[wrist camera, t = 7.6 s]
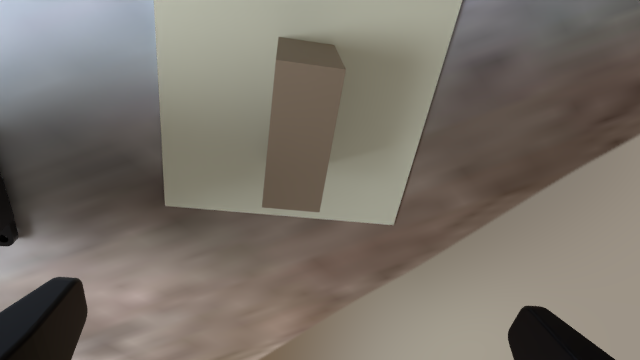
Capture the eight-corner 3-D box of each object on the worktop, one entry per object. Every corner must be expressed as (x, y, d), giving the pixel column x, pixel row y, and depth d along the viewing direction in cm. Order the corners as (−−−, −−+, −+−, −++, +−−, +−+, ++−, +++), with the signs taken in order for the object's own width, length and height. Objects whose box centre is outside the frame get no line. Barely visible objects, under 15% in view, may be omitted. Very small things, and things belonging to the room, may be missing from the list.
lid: (169, 197, 21) (139, 258, 17) (156, -74, 15) (105, -83, 11) (390, 216, 23) (412, 276, 19) (460, -20, 17) (517, -10, 12)
